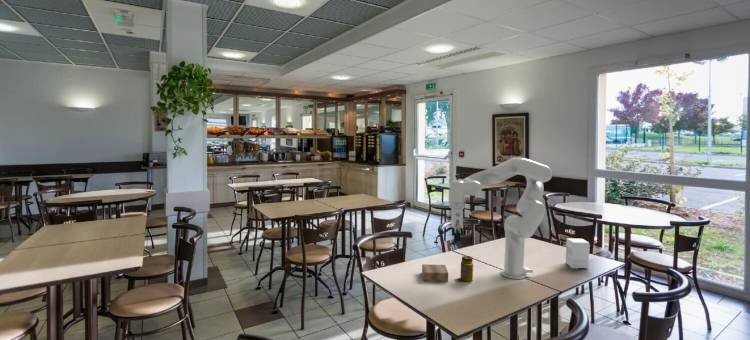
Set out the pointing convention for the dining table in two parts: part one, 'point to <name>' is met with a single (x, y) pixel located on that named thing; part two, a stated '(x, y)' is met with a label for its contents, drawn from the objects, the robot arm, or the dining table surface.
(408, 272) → the dining table surface
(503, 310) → the dining table surface
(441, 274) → the riser
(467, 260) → the condiment
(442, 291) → the dining table surface
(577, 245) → the supplement box
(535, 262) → the dining table surface
